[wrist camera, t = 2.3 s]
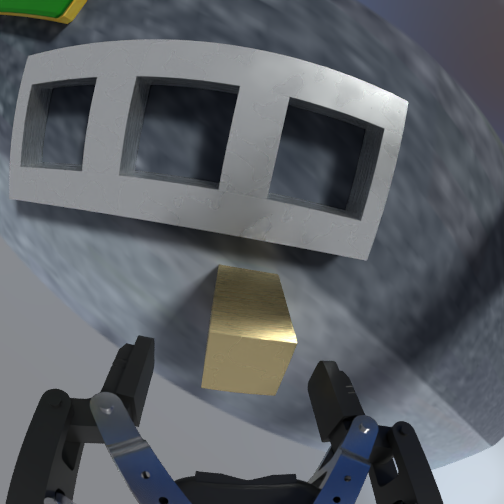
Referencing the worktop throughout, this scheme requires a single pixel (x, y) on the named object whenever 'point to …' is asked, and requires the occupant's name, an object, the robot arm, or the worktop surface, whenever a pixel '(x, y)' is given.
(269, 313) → the brass peg
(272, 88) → the rail plate
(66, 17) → the dish sponge
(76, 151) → the worktop surface
